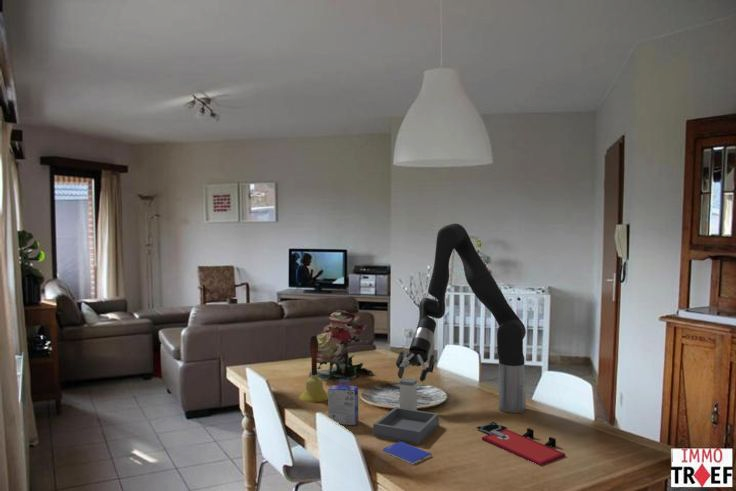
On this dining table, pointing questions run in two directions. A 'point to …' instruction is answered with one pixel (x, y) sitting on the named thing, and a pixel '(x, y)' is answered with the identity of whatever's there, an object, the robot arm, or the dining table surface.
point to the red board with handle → (521, 444)
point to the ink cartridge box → (343, 403)
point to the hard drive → (406, 452)
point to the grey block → (408, 394)
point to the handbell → (314, 378)
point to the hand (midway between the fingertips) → (410, 379)
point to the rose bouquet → (339, 347)
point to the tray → (406, 425)
